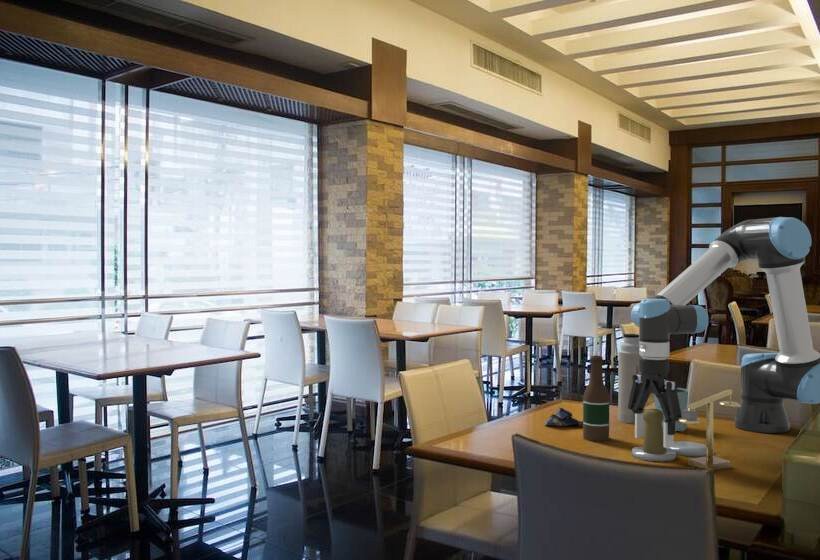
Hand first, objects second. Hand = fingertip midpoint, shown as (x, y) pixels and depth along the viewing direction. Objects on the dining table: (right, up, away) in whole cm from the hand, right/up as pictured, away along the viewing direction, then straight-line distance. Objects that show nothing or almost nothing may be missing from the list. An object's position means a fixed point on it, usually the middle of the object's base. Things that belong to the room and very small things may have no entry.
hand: (653, 442), depth 185 cm
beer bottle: (-10, -3, +18) cm, 21 cm away
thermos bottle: (+7, -3, +41) cm, 42 cm away
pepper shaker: (0, -2, 0) cm, 3 cm away
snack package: (-16, -3, +36) cm, 40 cm away
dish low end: (0, -4, 0) cm, 4 cm away
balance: (+11, -4, -9) cm, 15 cm away
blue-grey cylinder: (+16, -3, +31) cm, 35 cm away
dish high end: (+11, -4, +5) cm, 13 cm away
